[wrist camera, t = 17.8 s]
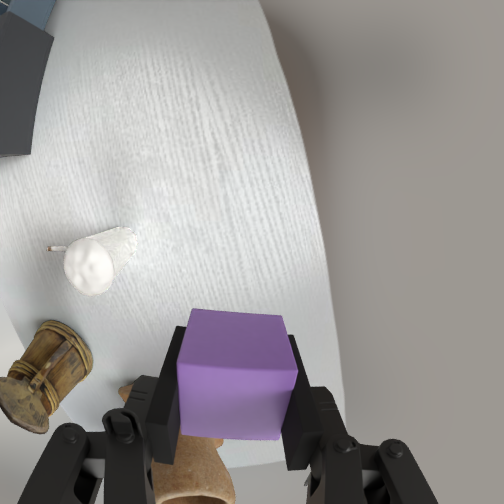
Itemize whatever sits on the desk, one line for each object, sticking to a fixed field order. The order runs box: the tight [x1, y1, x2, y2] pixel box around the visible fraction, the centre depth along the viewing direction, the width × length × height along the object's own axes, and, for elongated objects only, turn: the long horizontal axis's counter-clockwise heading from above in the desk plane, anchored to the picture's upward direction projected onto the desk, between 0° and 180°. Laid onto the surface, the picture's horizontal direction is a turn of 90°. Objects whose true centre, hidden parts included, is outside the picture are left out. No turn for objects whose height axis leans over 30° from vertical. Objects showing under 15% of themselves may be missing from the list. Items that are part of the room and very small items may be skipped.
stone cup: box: [118, 384, 235, 504], centre depth 26 cm, size 15×12×15 cm
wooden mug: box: [0, 320, 93, 434], centre depth 21 cm, size 9×14×18 cm, turn 132°
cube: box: [176, 308, 298, 440], centre depth 13 cm, size 4×4×4 cm
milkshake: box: [46, 227, 138, 296], centre depth 22 cm, size 5×5×10 cm
